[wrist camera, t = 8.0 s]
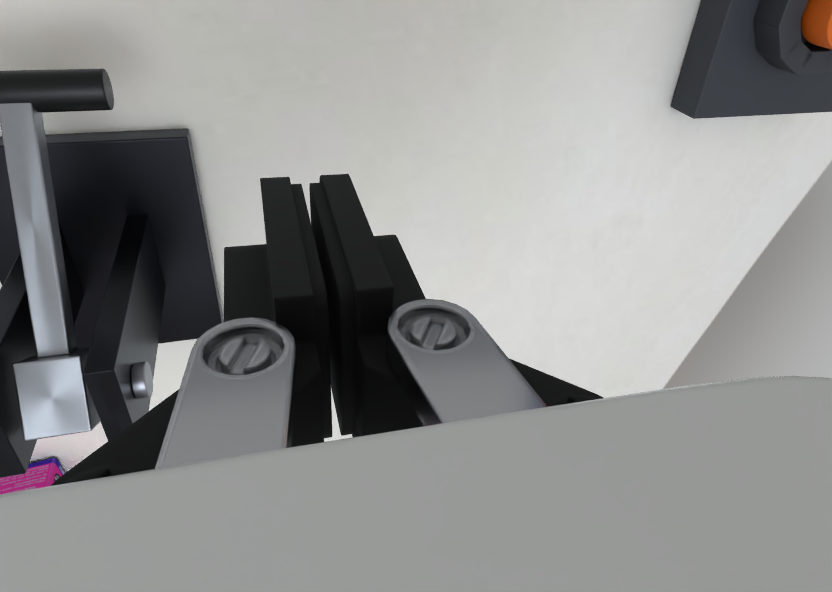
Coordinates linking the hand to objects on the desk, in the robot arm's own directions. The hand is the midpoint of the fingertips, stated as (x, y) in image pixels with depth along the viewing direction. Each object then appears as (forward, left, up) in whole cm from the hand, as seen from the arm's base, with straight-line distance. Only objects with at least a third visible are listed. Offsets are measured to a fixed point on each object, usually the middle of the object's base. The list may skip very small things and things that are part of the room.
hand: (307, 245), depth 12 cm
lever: (+6, -9, -12) cm, 16 cm away
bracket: (+10, -9, -20) cm, 24 cm away
